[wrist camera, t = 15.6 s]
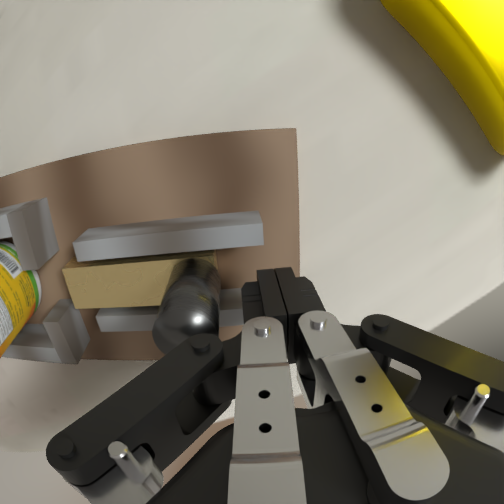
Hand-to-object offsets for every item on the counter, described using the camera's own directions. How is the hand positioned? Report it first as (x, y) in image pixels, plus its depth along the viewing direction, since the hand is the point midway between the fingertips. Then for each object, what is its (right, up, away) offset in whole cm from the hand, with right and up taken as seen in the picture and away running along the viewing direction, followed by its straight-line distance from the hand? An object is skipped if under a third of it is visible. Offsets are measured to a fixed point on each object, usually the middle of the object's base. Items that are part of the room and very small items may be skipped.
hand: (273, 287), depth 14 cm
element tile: (+16, +17, -2) cm, 23 cm away
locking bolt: (-7, +1, +2) cm, 7 cm away
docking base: (-10, +1, +3) cm, 11 cm away
